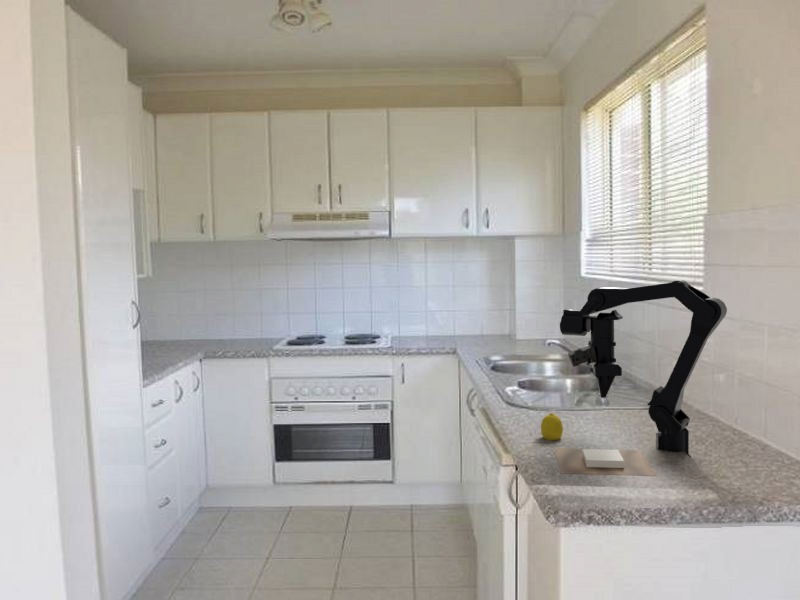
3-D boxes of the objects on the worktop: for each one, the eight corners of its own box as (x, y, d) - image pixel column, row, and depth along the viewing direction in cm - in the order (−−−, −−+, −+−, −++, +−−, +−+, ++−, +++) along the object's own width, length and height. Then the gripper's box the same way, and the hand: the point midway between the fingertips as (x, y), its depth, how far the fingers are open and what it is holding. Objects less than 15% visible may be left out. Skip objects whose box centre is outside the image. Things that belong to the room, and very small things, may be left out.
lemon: (547, 447, 161) (547, 416, 160) (537, 441, 166) (536, 411, 166) (567, 445, 162) (566, 414, 162) (556, 439, 168) (555, 409, 167)
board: (640, 456, 152) (640, 450, 152) (657, 482, 134) (657, 475, 134) (554, 454, 155) (554, 448, 155) (560, 480, 138) (560, 473, 138)
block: (618, 449, 147) (624, 460, 139) (618, 457, 147) (624, 468, 139) (582, 449, 148) (586, 459, 141) (582, 456, 149) (586, 467, 141)
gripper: (566, 332, 171) (566, 389, 173) (573, 342, 153) (574, 405, 154) (608, 332, 170) (609, 389, 171) (621, 341, 151) (622, 406, 152)
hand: (603, 397), depth 162 cm, fingers closed
